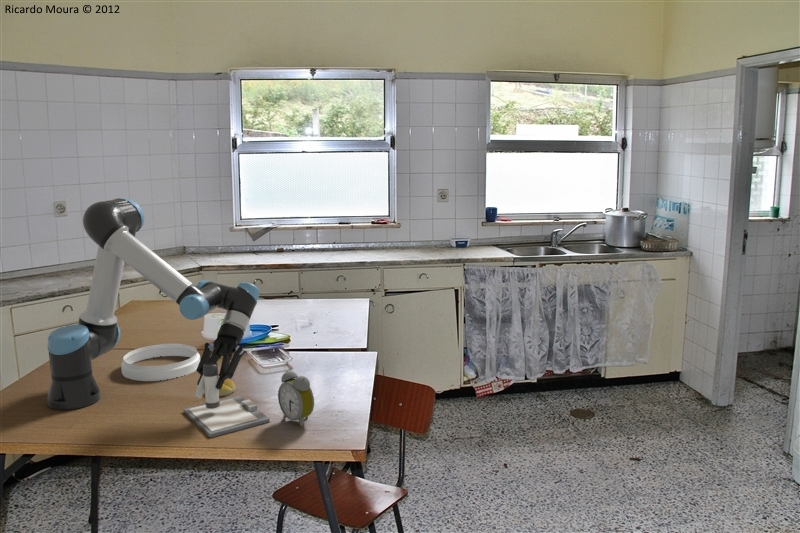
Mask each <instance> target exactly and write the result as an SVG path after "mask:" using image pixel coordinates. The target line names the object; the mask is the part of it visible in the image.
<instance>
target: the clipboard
mask: <svg viewBox="0 0 800 533" xmlns="http://www.w3.org/2000/svg"><path fill="white" fill-rule="evenodd" d="M219 400H220V406H219V407H217V408H213V409H209V408H206V403H203V404H198V405H194V406H189V407H185V408H183V413H184V414H185V415H186V416H187V417H188V418H189V419H190V420H191V421H192V422H194V423H195V425H197V427H199V429H201V430H202V431H203V432H204V433H205V434H206V435H207V436H208V437H209V438H215V437H218V436H222V435H225V434H226V435H227V434H229V433H235V432H237V431H241V430H244V429H248V428H252V427H255V426H259V425H263V424H267V423H269V422H271V421H270V418H269V417H268V416H267V415H266V414H264V413H263V412H261V410H260V409H258V405H257V404H256V403H255V402H253V401H252V400H250V399H249V398H248V399H244V398H243V396H241V395H236V396H232V397H227V398H224V399H219Z"/></svg>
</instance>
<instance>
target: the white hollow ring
mask: <svg viewBox="0 0 800 533" xmlns="http://www.w3.org/2000/svg"><path fill="white" fill-rule="evenodd" d="M160 356H162V357H185V358H187V357H188V358H187V359H185V360H182V361H178V362H173V363H169V364H163V365H137V364H135V363H137V362H140V361H144V360H147V359H154V358H159V357H160ZM153 357H154V358H153ZM160 358H161V357H160ZM122 359H123V360H122V361H121V364H120V366H121V374H122V376H123V377H124V378H126V379H129V380H133V381H139V382H140V381H141V382H157V381H160V380H161V381H166V380H167V379H168V380H174V379H177V378H176V377H178V378H181V376H182V377H184V375H185V376H187V375H191V374H192V373H195V372H197V371H196V370H197V367H198V365H199V362H200V360H201V355H200V353H199V352H198V349H197V348H196V347H194V346H192V345H188V344H184V343H183V344H182V343H161V344H160V343H159V344H153V345H148V346H142V347H140V348H139V347H138V348H135V349H133V350H131V351H129V352H127V353H126V354H125V355H124V356H123V358H122ZM173 378H174V379H173Z"/></svg>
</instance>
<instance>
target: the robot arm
mask: <svg viewBox="0 0 800 533" xmlns="http://www.w3.org/2000/svg"><path fill="white" fill-rule="evenodd" d="M144 223H145V214H144V211H143V209H142V208H141V206H140V205H139V204H138V203H137V202H135V201H134V200H132V199H129V198H113V199H110V200H104V201H97V202H94V203H92V204H91V205H90V206H88V207H87V208H86V210H85V211H84V213H83V217H82V225H83V228H84V230H85V233H86V234H87V236H88V237H89V238H90V239H91V240H92V241H93V242H94V243H95V244H96V245H97V252H96V257H95V263H94V267H93V273H92V278H91V282H90V288H89V294H88V298H87V304H86V309H85V310H84V311H83V312H81V313H79V314H80V315H79V317H78V322H77V324H69V325H65V326H61V327H59V328H57V329H54V330H52V331H51V332H50V334H48V336H47V337H48V338H47V351H48V357H49V359H48V360H49V368H50V376H51V377H50V378H51V382H50V386H49V390H48V393H47V398H46V400H47V401H46V402H47V406H48V407H49V408H50V409H52V410H58V411H65V410H66V411H68V410H69V411H70V410H76V409H81V408H86V407H88V406H91V405H93V404H95V403H97V402H98V401H99V400H101V389H100V387H99V385H98V383H97V381H96V379H95V377H94V375H93V374H94V373H93V364H92V363H93V362H92V361H94V360H95V359H97V358H98V357H101V356H103V355H104V354H106V353H108V352H110V351H111V350H113V348H115V346H117V344H118V343H119V341H120V338H121V328H120V327H119V326H118V325H119V324H118V317H117V316H116V315H115V310H116V307H117V301H118V295H119V291H120V286H121V281H122V277H123V271H124V267H125V264H127V265H129V267H131V268H132V269H133V270H135V272H137V273H138V274H139V275H141V276H142V277H143V278H144V279H146V280H147V281H148V282H150V283H151V284H152V285H154V286H155V287H156V288H157V289H158V290H160V291H161V292H162V293H163V294H164V295H166V296H167V297H168V298H169V299H171V300H172V301H173V302H175V303H176V304H177V305H178V306H179V312H180V314H181V315H182V316H183V317H184V318H185V319H187V320H190V321H195V320H198V319H200V318H201V319H202V318H203V317H204V316H206V315H208V314H209V313H210V312H211V311H214V310H215V309H216V308H217V309H222V310H226V314H225V315H224V318H223V320H222V322H221V323H222V324H221V325H220V326H219V329H218V332H217V334H216V335H217V336H216V339H215V340H214V341H213V342H211V343H209V342H205V343H204V350H203V353H202V356H200V362H199V365H198V367H197V370H196V371H195V372H197V373H198V374H199V375H200V376H199V378H198V380H197V383H196V384H197V388H196V390H195V393H194V396H195V397H196V398H197V399H202V396H203V394H204V393H205V385H204V375H203V364H205V363H209V362H215V363H218V361H219V360H220V359H221V358H222V359H221V361H222V362H221V365H220V370H219V373H218V376H216V378H215V380H214V383H213V385H212V388H211V390H210V392H209V395H208V397H209V398H210V399H211V400H215V397H216V395H217V393H218V390H219V389H221V388H222V386H223V383H224V381H225V380H226V379H228V380H232V378H233V377H234V375H235V372H236V370H237V368H238V365H239V363H240V362H241V358H242V357H243V356H244V355H245V353H246V350H245V349H244V348H243V346H240V344H241V342H242V340H243V337H244V335H245V332H246V329H247V328H248V325H249V322H250V320H251V317H252V315H253V313H254V310H255V308H256V306H257V305H258V299H259V297H260V294H261V293H260V289H259V287H258V286H256V284H253V283H250V282H247V281H245V282H243V281H242V282H240V283H239V284H238V285H237V287H234V286H228V285H226V284H221V283H218V282H213V281H212V280H211V281H210V280H200V281H199V282H198V283H197V284H196V285H195V284H194V283H192V282H191V281H190V280H188V278H186V277H185V276H184V275H183V274H181V273H180V272H179V271H177V270H176V269H175V268H174V267H173V266H171V265H170V264H169V263H168V262H166V261H165V260H164V259H163V258H161V257H160V256H159V255H157V253H155V252H154V251H153V250H151V249H150V248H149V247H148V246H146V245H145V244H144V243H143V242H141V241H140V240H139V239H138V238H137V237H136V234H137V233H138V232H139V231H140V230H141V229H142V228H143V226H144V225H145V224H144Z"/></svg>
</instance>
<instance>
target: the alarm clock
mask: <svg viewBox="0 0 800 533" xmlns="http://www.w3.org/2000/svg"><path fill="white" fill-rule="evenodd" d="M280 380H281V384H280V386H279V387H278V388H279V389H278V391H277V398H278V405H279V407H280V410H281V411H282V414H283V417H282V418H283V419H285V420H286V419H289V421H290V420H291V421H298V422H299V424H300V427H301V428H302V429H305V419H306V420H308V419H309V416H310V415H311V414H312V413H313V411H314V407H315V396H314V393H313V390H312V388H311V382H310V380H309V379H308V377H306V376H303V375H300V376H298V374H297V373H296V372H294V371H293V370H292V371H291V370H286V371H285V372H284V373H283V374H282V376H281V379H280Z"/></svg>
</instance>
